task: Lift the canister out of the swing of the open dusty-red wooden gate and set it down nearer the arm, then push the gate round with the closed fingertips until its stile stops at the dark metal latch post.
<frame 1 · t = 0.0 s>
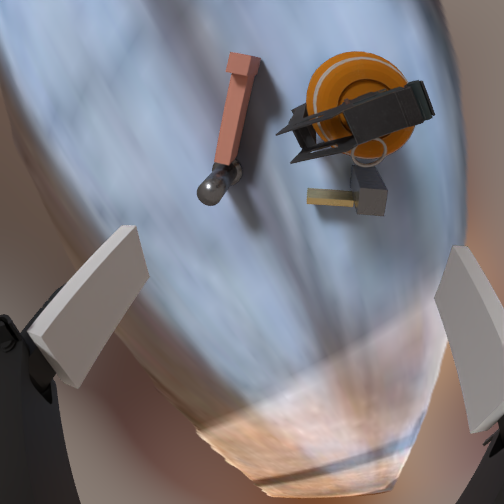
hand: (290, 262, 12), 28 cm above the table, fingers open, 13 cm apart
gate: (234, 108, 32), point 3 cm above the table, hinge at 75.0°
gate post: (227, 170, 40), on the table
canister: (338, 96, 32), on the table
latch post: (362, 176, 37), on the table
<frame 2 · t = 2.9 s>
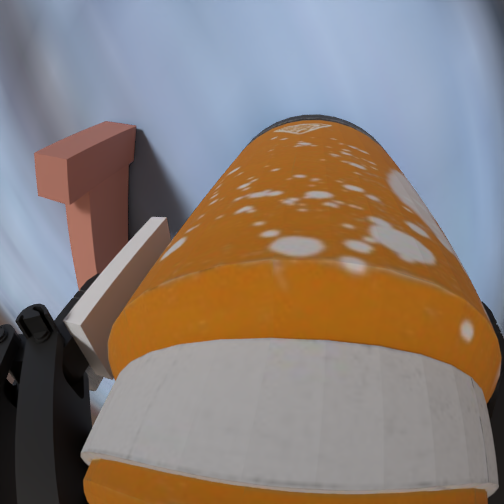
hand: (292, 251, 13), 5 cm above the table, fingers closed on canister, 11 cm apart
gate: (93, 241, 17), point 3 cm above the table, hinge at 75.0°
canister: (298, 200, 17), on the table, touching gripper
when the fingers open (6 cm above the table, at t = 8.6 s): canister stays where it is, on the table.
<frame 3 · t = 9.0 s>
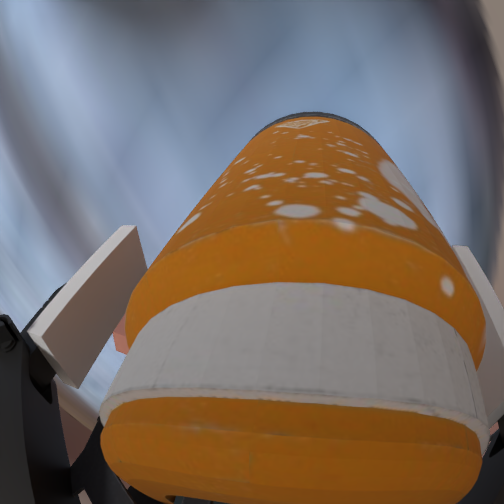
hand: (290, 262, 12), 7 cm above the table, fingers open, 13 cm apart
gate: (148, 357, 24), point 3 cm above the table, hinge at 75.0°
canister: (298, 193, 18), on the table
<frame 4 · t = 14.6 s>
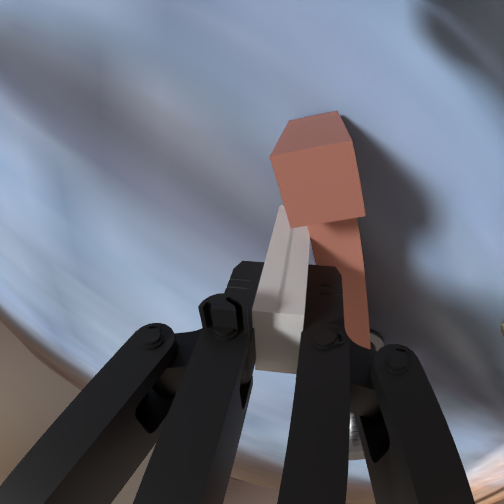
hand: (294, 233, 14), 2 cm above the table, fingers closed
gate: (343, 276, 13), point 3 cm above the table, hinge at 73.7°, touching gripper
gate post: (356, 347, 20), on the table
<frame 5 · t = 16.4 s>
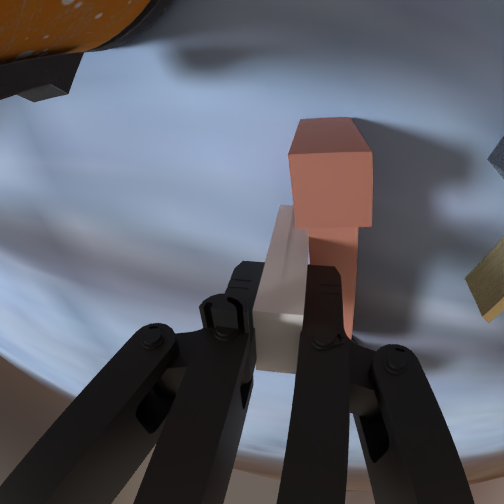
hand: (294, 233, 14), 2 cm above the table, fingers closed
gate: (333, 280, 13), point 3 cm above the table, hinge at 37.0°, touching gripper
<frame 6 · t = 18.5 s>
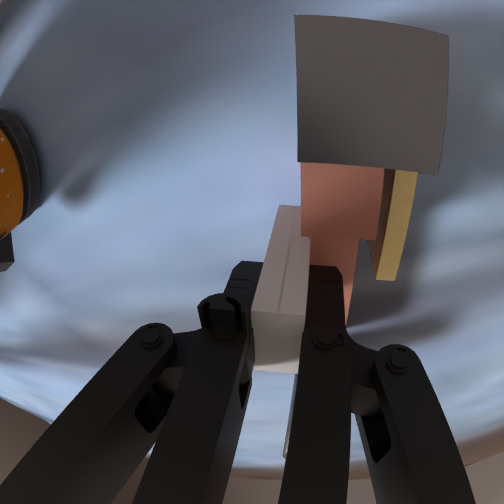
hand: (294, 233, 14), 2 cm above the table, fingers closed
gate: (328, 286, 13), point 3 cm above the table, hinge at 1.5°, touching gripper
canister: (17, 172, 18), on the table
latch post: (341, 80, 11), on the table
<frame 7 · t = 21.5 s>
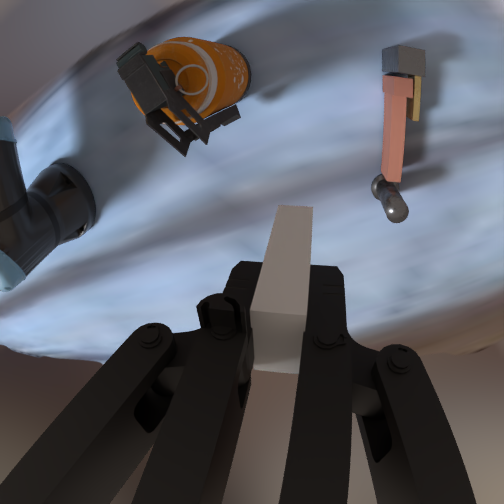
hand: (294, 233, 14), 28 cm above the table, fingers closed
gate: (395, 128, 32), point 3 cm above the table, hinge at 1.5°
gate post: (384, 187, 40), on the table
canister: (222, 82, 36), on the table
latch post: (393, 62, 30), on the table
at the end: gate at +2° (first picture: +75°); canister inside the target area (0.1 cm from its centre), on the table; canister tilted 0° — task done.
